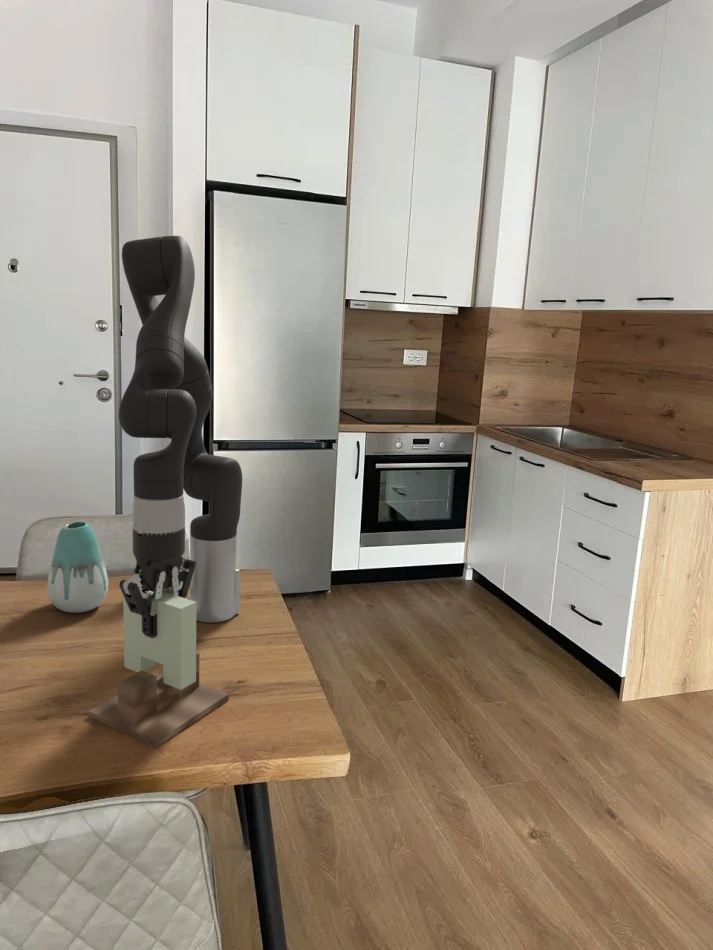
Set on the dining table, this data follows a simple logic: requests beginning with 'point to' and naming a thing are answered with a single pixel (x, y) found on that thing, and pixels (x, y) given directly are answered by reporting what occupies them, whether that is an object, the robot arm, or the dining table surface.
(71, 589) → the vase
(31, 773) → the dining table surface
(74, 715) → the dining table surface
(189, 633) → the upright sage green panel
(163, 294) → the robot arm
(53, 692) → the dining table surface
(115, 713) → the slot plate
